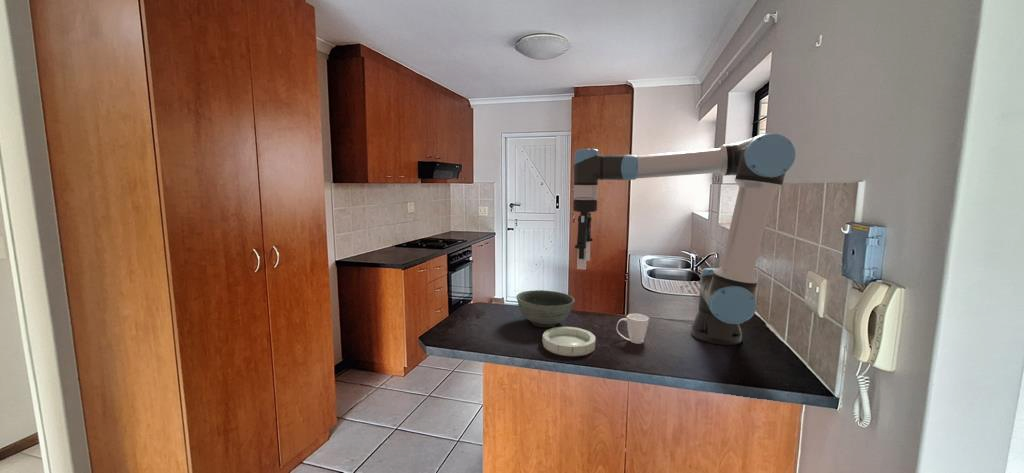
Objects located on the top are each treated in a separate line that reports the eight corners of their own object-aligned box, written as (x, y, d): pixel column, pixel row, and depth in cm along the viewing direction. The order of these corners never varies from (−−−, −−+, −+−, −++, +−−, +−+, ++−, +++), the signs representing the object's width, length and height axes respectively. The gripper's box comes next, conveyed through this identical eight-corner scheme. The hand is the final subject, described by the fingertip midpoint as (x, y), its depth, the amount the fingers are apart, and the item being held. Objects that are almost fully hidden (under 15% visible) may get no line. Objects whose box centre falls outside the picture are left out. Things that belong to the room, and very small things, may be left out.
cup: (648, 346, 128) (650, 321, 126) (616, 343, 130) (617, 318, 129) (646, 337, 134) (648, 314, 133) (615, 335, 137) (616, 311, 135)
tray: (596, 338, 133) (597, 329, 133) (592, 359, 118) (592, 349, 117) (548, 333, 137) (548, 324, 137) (538, 352, 122) (538, 342, 122)
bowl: (504, 326, 143) (505, 298, 142) (533, 310, 161) (533, 285, 160) (558, 339, 133) (559, 309, 131) (582, 320, 150) (583, 294, 149)
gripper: (577, 197, 142) (576, 257, 145) (567, 200, 118) (566, 272, 121) (599, 197, 140) (598, 258, 143) (594, 201, 116) (592, 273, 119)
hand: (583, 264), depth 132 cm, fingers open, 13 cm apart
